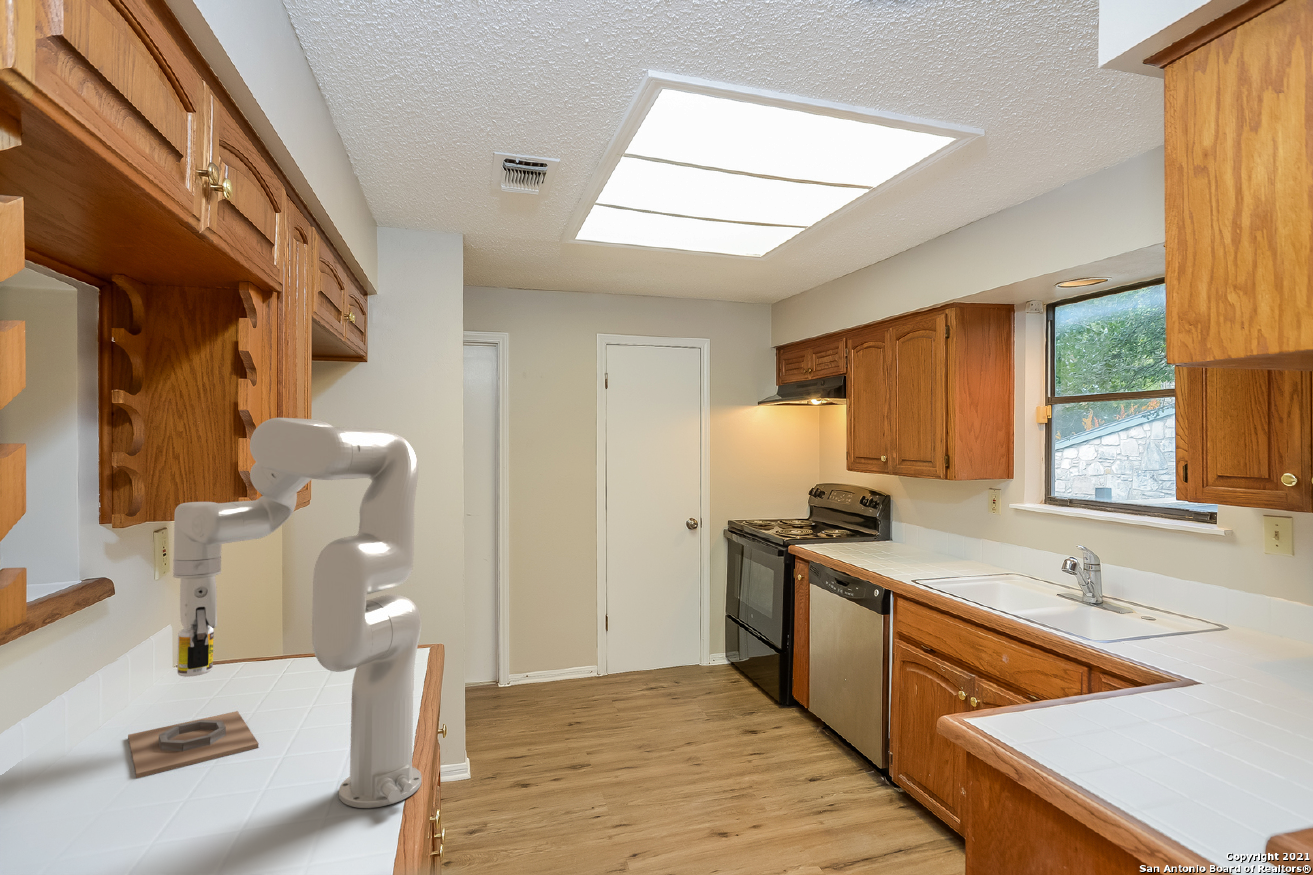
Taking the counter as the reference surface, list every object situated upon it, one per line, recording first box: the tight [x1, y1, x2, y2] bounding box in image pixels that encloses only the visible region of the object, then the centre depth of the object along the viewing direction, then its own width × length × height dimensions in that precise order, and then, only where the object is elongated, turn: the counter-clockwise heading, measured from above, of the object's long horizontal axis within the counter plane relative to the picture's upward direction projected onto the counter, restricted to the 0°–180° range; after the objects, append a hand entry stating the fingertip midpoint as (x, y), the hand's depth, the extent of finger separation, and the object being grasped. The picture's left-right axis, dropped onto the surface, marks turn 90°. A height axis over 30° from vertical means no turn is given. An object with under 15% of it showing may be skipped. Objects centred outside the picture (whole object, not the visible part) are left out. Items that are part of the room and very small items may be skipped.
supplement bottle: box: [176, 624, 215, 678], centre depth 126 cm, size 6×6×10 cm
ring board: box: [127, 710, 259, 779], centre depth 126 cm, size 20×18×2 cm
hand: (195, 661), depth 126 cm, fingers closed on supplement bottle, 5 cm apart
